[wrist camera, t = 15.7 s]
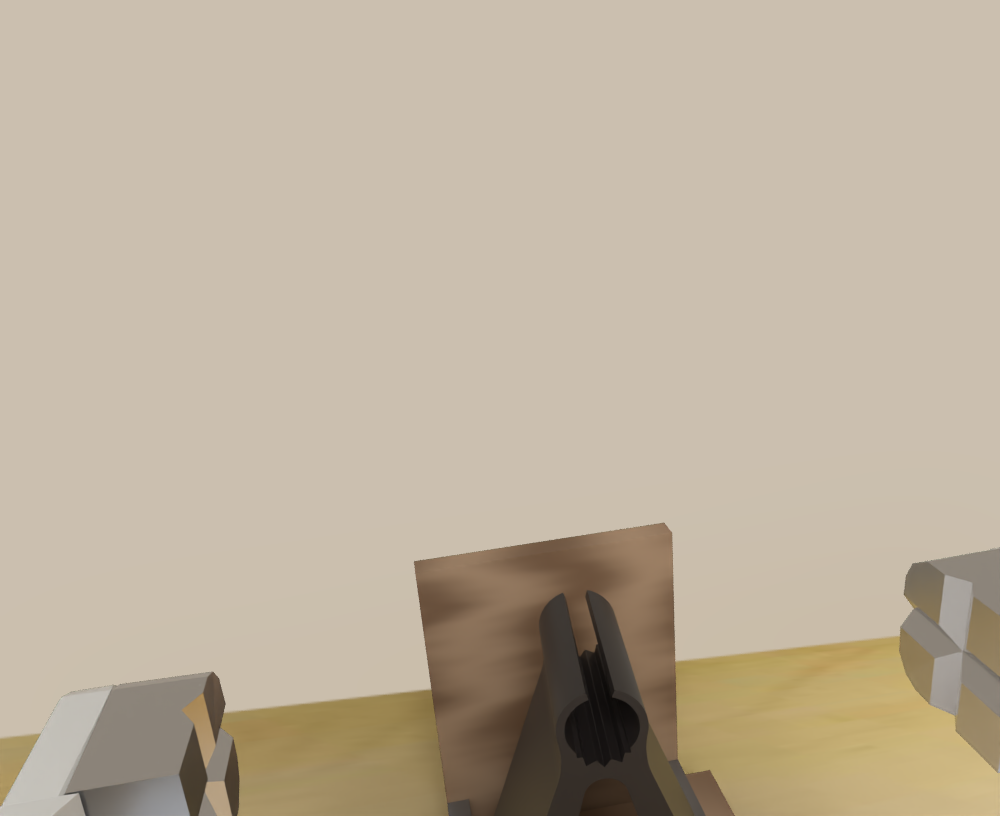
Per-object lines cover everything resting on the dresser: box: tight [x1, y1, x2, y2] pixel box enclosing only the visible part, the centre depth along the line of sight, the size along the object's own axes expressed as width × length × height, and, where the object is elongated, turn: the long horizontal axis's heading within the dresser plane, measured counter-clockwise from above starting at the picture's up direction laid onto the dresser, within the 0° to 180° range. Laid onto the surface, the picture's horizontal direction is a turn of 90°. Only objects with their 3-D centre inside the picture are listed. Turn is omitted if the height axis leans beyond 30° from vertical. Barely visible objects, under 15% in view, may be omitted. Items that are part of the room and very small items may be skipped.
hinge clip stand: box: [414, 523, 735, 816], centre depth 32 cm, size 15×15×16 cm
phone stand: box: [494, 590, 695, 816], centre depth 30 cm, size 9×6×12 cm, turn 92°
